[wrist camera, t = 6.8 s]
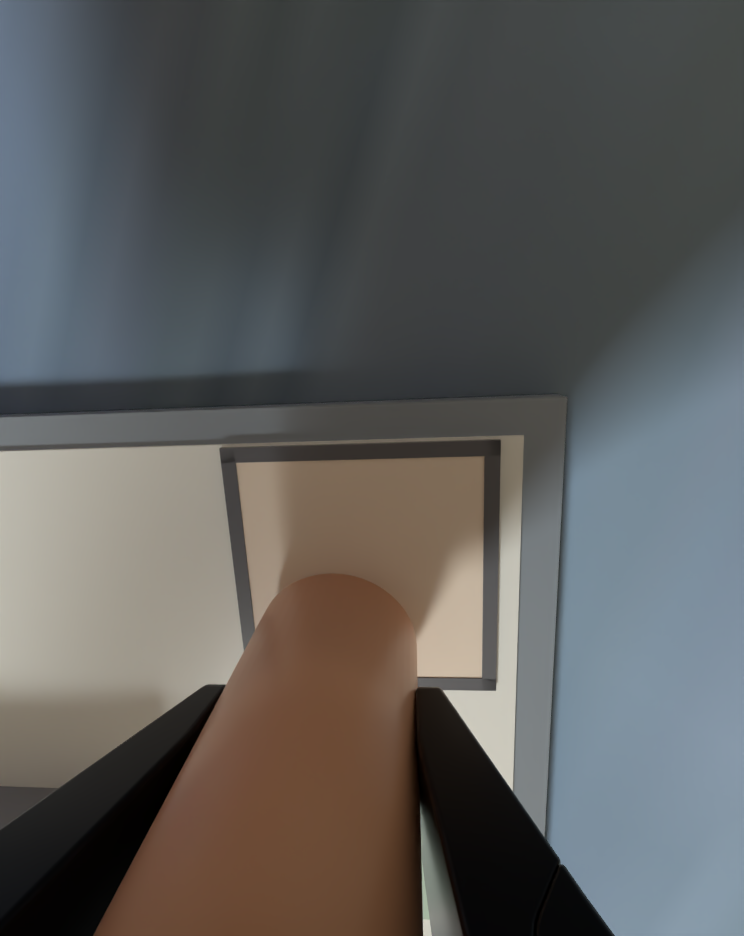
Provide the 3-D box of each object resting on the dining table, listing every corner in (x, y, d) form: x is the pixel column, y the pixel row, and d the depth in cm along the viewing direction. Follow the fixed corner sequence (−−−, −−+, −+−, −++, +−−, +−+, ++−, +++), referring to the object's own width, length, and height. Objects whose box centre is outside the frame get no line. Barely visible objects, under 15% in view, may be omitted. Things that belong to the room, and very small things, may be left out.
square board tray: (530, 961, 13) (575, 1184, 10) (-8, 927, 14) (-142, 1111, 11) (557, 393, 9) (645, 417, 6) (-167, 420, 11) (-443, 453, 7)
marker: (422, 695, 10) (460, 1727, 3) (271, 693, 11) (-89, 1616, 3) (419, 554, 9) (462, 1493, 2) (255, 555, 10) (-321, 1362, 2)
